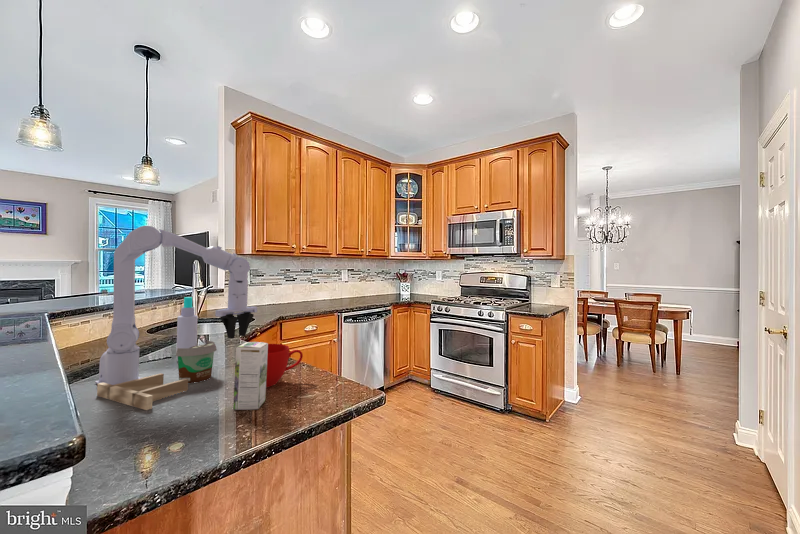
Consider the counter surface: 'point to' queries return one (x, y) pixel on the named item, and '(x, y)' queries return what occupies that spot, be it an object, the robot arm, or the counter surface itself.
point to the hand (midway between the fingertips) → (236, 336)
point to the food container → (196, 362)
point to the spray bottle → (187, 326)
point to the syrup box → (250, 375)
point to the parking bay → (141, 390)
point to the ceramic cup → (278, 362)
